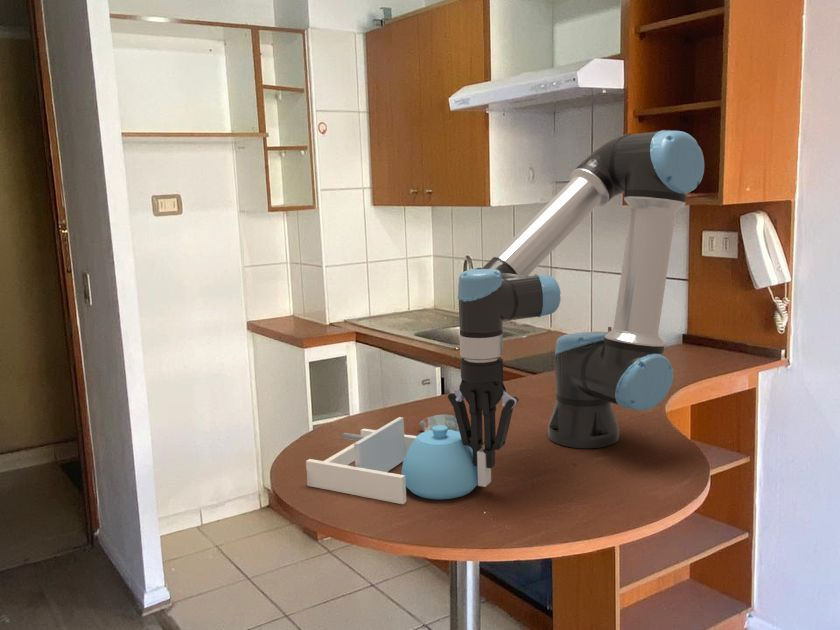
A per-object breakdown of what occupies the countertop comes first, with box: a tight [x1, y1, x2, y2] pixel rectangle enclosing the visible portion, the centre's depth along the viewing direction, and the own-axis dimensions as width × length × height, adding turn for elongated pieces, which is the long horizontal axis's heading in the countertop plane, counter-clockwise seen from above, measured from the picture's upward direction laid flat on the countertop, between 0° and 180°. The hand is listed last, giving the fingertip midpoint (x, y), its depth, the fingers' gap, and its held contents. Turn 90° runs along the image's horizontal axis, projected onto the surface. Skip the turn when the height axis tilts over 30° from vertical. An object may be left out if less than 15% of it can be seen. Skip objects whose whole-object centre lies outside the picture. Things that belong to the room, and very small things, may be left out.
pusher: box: [341, 416, 405, 473], centre depth 152 cm, size 9×17×9 cm, turn 152°
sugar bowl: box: [400, 425, 478, 501], centre depth 144 cm, size 15×15×12 cm
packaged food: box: [418, 413, 460, 432], centre depth 171 cm, size 9×12×5 cm
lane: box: [305, 428, 418, 505], centre depth 151 cm, size 21×20×5 cm
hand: (484, 483), depth 141 cm, fingers closed
